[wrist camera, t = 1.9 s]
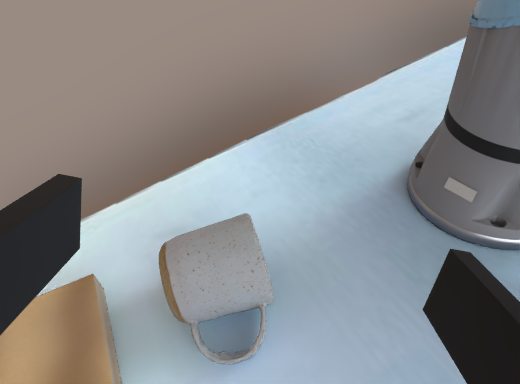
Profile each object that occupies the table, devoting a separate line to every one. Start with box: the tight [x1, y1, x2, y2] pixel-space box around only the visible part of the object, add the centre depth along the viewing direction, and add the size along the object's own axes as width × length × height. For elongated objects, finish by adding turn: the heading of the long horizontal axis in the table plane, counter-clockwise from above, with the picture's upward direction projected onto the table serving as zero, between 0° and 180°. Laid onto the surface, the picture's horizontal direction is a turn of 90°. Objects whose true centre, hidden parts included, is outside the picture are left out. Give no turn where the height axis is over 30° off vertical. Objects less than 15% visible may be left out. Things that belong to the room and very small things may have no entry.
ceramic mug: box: [159, 214, 274, 364], centre depth 30 cm, size 11×8×8 cm
